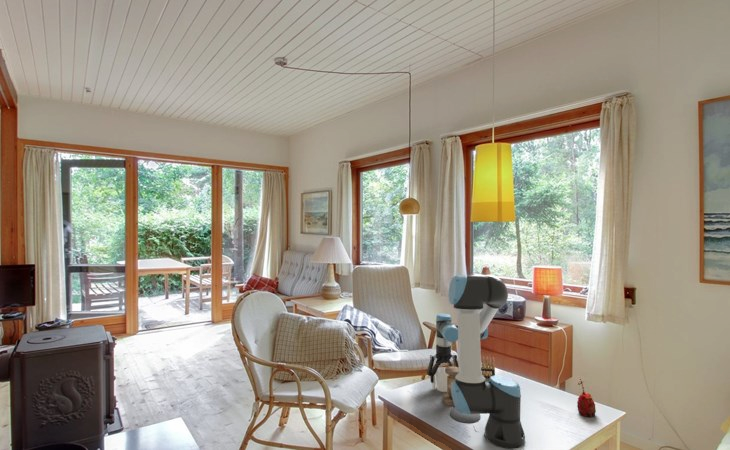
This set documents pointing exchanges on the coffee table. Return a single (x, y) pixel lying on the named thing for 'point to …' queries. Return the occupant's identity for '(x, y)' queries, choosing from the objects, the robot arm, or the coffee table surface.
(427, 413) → the coffee table surface
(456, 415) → the pad
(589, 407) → the red bumpy oval
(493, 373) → the ammunition clip
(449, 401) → the doorknob
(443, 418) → the coffee table surface
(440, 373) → the white cup
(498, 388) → the robot arm
